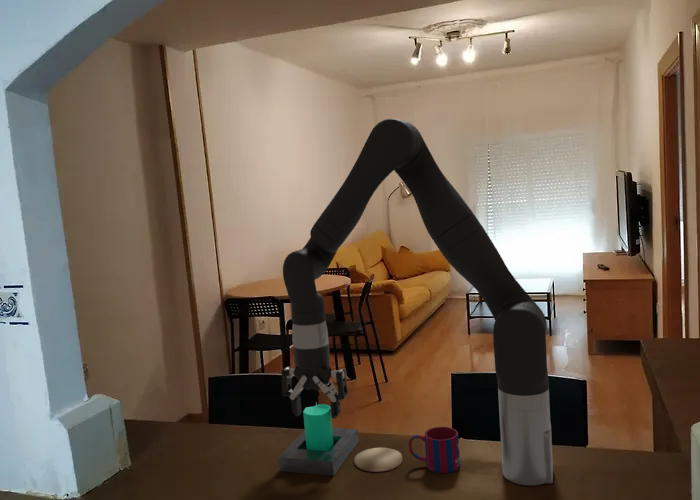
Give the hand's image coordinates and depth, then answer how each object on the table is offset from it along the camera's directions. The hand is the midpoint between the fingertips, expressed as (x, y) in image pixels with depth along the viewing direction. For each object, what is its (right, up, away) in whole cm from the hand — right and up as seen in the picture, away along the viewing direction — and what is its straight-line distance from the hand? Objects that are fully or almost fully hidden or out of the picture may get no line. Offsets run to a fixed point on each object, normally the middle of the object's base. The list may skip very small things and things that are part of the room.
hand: (316, 416), depth 130 cm
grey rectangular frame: (+1, -9, +1) cm, 9 cm away
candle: (+1, -9, +1) cm, 9 cm away
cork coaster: (+13, -8, -3) cm, 16 cm away
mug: (+25, -8, -7) cm, 27 cm away
